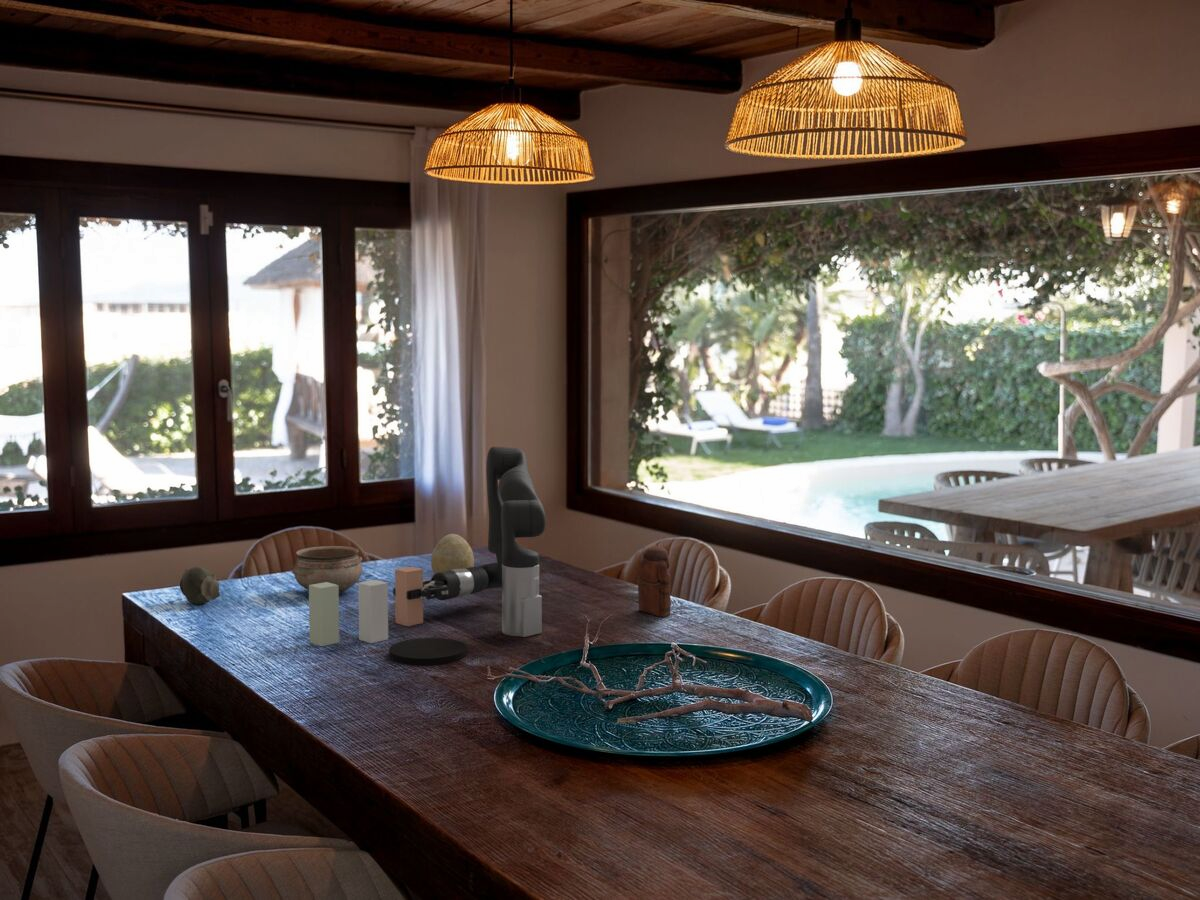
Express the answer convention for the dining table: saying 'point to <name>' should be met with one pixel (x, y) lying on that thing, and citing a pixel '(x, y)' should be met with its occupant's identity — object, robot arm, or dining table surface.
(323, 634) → the sage block
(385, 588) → the light grey block
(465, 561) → the fossilized egg
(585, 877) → the dining table surface
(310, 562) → the cooking pot
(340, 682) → the dining table surface
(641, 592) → the wooden figurine
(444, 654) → the wireless charger
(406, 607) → the terracotta block
